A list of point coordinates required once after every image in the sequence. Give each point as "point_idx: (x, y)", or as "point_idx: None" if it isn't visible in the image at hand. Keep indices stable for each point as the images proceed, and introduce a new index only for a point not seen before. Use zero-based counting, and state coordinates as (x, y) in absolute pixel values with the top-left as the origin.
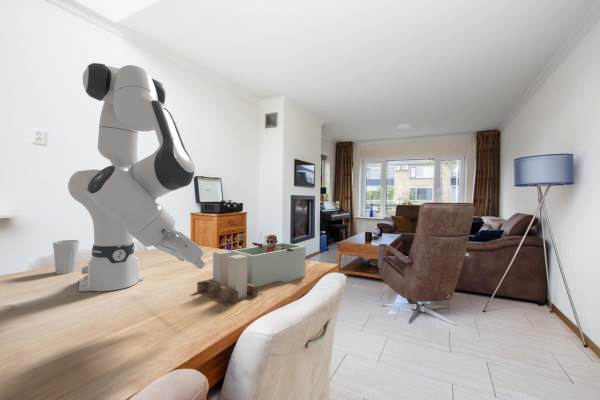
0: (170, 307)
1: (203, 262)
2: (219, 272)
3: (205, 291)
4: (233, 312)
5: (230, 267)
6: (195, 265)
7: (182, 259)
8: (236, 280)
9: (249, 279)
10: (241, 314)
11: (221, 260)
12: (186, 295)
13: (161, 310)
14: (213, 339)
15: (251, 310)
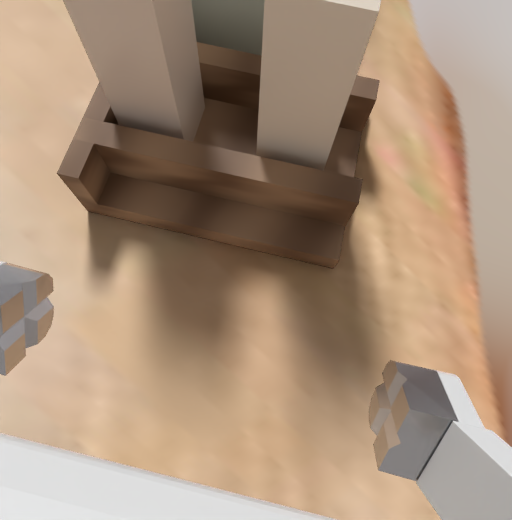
0: (71, 367)
1: (465, 395)
2: (165, 84)
3: (115, 178)
4: (365, 261)
5: (286, 66)
6: (411, 471)
7: (38, 331)
8: (337, 128)
9: (259, 18)
10: (407, 260)
11: (160, 10)
12: (28, 225)
13: (59, 417)
14: None
15: (410, 210)
